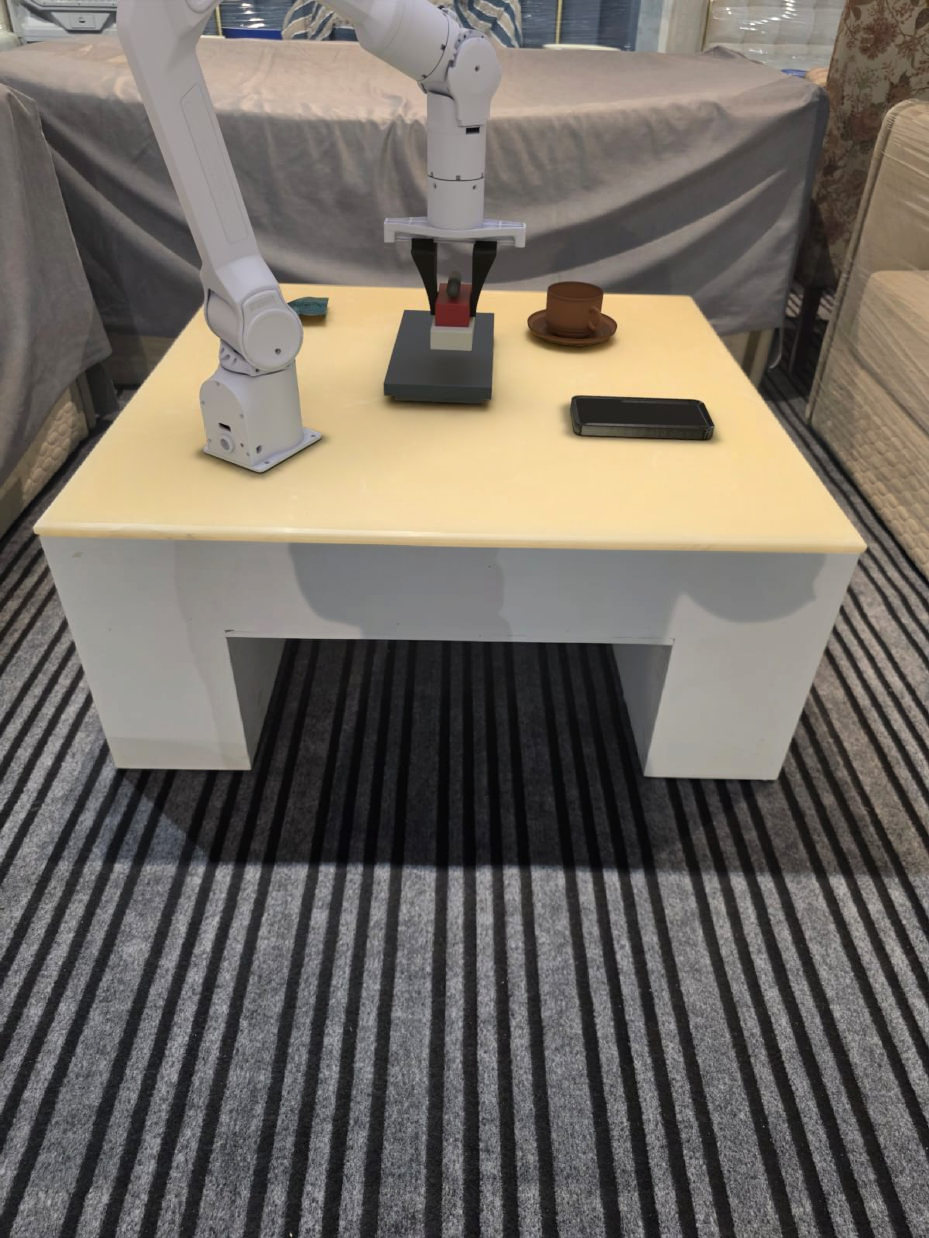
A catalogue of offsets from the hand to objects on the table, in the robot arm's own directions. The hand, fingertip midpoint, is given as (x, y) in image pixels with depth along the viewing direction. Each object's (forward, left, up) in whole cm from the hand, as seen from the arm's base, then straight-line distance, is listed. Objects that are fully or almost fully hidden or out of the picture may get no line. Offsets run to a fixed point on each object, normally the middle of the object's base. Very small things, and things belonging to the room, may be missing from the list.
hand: (453, 313), depth 91 cm
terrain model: (+8, +33, -10) cm, 35 cm away
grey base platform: (+6, +5, -9) cm, 12 cm away
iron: (0, 0, -2) cm, 2 cm away
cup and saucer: (+25, -3, -10) cm, 27 cm away
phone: (+6, -21, -10) cm, 24 cm away
